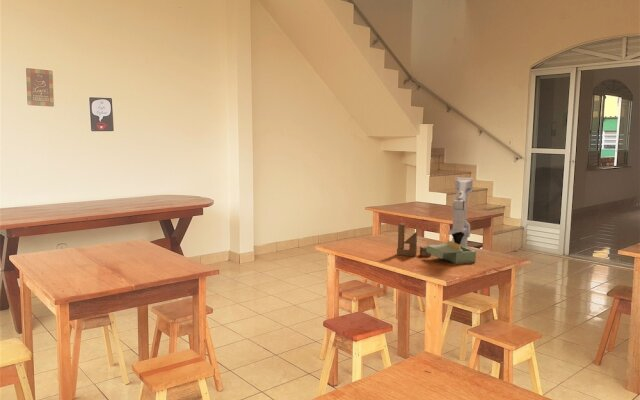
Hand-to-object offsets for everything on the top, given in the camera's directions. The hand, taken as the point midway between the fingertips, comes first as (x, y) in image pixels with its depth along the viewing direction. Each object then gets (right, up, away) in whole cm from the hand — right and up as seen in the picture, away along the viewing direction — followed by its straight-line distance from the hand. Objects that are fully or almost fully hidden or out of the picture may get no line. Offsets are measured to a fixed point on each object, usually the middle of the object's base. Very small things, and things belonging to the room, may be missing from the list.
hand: (457, 245), depth 294 cm
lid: (-8, -5, -2) cm, 9 cm away
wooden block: (-26, -7, +11) cm, 29 cm away
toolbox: (+1, -8, +1) cm, 8 cm away
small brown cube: (-16, -7, +10) cm, 20 cm away
